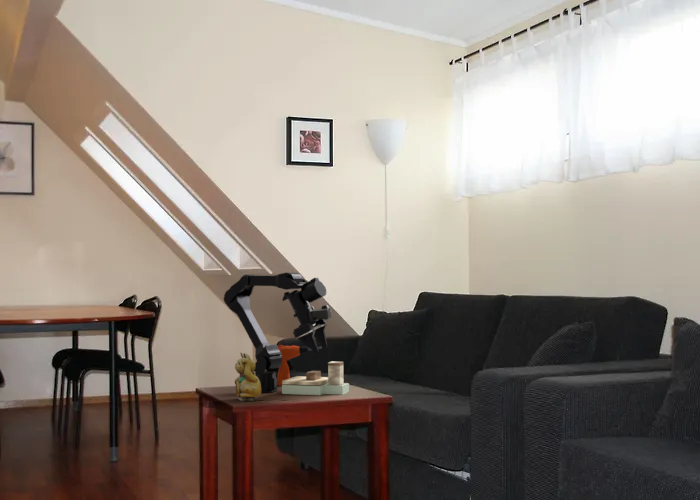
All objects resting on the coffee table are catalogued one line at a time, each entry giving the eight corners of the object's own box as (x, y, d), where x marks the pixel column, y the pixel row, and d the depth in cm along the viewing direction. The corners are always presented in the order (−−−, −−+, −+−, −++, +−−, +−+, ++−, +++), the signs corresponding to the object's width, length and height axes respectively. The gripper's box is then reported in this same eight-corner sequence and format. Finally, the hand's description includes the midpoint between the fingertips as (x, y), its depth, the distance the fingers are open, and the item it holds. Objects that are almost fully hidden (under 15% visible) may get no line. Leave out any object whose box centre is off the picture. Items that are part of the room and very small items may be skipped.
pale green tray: (282, 396, 279) (282, 384, 279) (297, 391, 293) (297, 379, 293) (339, 398, 273) (339, 387, 274) (352, 393, 287) (351, 381, 287)
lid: (282, 384, 279) (282, 373, 279) (297, 379, 293) (297, 368, 293) (319, 385, 275) (319, 374, 276) (333, 380, 289) (333, 369, 289)
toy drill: (326, 381, 308) (320, 340, 308) (274, 388, 307) (268, 347, 307) (325, 379, 312) (320, 339, 313) (274, 386, 312) (269, 345, 312)
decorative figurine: (231, 398, 276) (231, 351, 276) (256, 396, 279) (256, 350, 280) (240, 402, 267) (240, 354, 268) (265, 400, 271) (265, 353, 271)
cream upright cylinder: (328, 393, 280) (328, 362, 280) (332, 391, 284) (331, 361, 284) (340, 393, 279) (339, 362, 279) (343, 391, 282) (343, 361, 283)
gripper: (312, 301, 274) (333, 345, 273) (330, 294, 291) (350, 335, 291) (283, 315, 277) (304, 359, 276) (303, 307, 295) (322, 348, 294)
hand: (321, 349), depth 284 cm, fingers open, 9 cm apart
